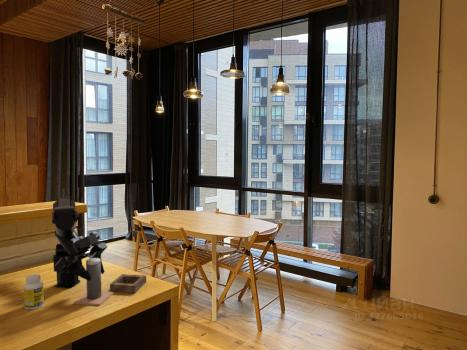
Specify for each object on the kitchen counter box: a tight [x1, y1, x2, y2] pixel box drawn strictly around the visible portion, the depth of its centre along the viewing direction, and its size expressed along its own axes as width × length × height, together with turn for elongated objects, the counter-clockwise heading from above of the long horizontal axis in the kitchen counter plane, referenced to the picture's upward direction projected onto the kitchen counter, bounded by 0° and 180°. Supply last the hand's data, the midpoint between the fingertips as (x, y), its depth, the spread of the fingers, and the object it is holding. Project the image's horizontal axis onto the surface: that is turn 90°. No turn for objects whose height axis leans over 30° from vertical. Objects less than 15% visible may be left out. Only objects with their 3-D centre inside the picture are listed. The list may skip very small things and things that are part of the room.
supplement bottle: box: [23, 273, 45, 310], centre depth 110 cm, size 5×5×10 cm
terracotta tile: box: [73, 290, 115, 307], centre depth 116 cm, size 9×9×1 cm
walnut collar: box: [109, 273, 147, 294], centre depth 126 cm, size 10×10×2 cm
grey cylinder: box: [85, 258, 102, 300], centre depth 116 cm, size 4×4×13 cm
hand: (97, 276), depth 115 cm, fingers open, 6 cm apart
